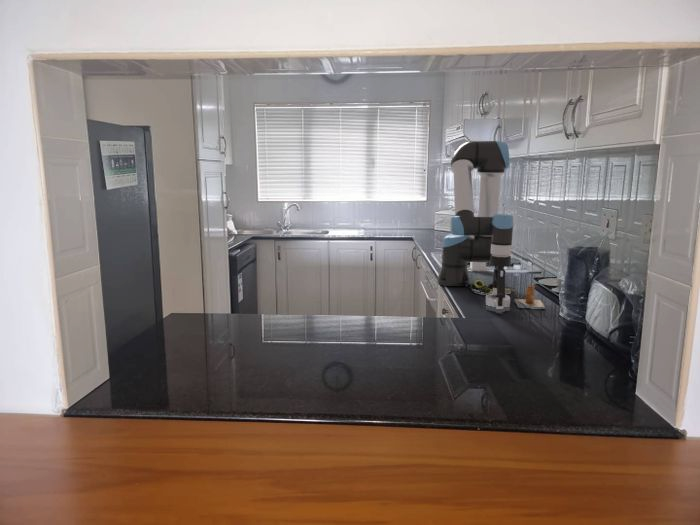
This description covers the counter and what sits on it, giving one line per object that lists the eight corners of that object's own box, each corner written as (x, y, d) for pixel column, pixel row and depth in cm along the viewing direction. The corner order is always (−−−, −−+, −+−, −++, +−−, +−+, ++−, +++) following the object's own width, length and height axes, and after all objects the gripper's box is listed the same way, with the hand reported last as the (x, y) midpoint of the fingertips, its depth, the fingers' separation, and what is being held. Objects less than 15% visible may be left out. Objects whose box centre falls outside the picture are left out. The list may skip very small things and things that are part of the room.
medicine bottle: (483, 268, 269) (484, 246, 266) (485, 271, 262) (487, 248, 259) (469, 268, 269) (471, 245, 267) (471, 270, 262) (473, 248, 260)
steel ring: (486, 311, 193) (487, 299, 192) (484, 305, 202) (485, 293, 201) (510, 313, 192) (511, 300, 190) (507, 306, 200) (508, 294, 199)
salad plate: (511, 287, 231) (511, 277, 230) (520, 298, 213) (520, 287, 212) (467, 286, 232) (468, 276, 232) (473, 296, 215) (474, 286, 214)
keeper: (517, 308, 197) (519, 288, 195) (514, 301, 207) (515, 282, 205) (544, 310, 195) (546, 290, 194) (540, 302, 205) (541, 283, 203)
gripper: (515, 261, 179) (511, 319, 184) (507, 249, 203) (503, 300, 208) (493, 261, 181) (490, 317, 185) (487, 249, 205) (484, 299, 209)
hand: (497, 308), depth 196 cm, fingers open, 13 cm apart
